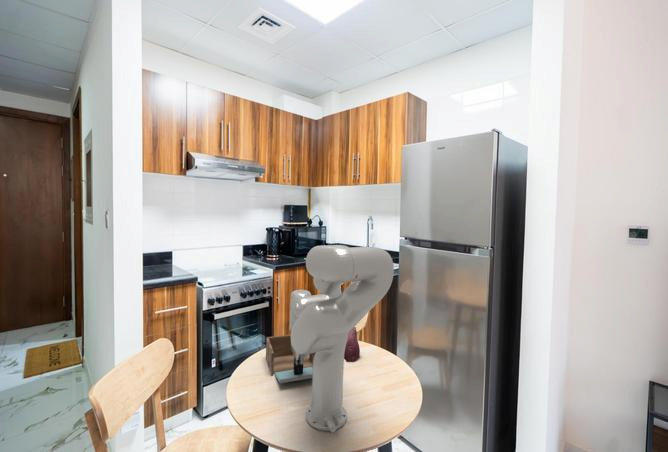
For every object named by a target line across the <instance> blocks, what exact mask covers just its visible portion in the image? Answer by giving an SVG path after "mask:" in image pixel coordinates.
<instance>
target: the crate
mask: <svg viewBox="0 0 668 452" xmlns="http://www.w3.org/2000/svg"><path fill="white" fill-rule="evenodd" d="M265 338H266V339H265V359H266V360H265V361H266V363H267V365H268V370H269V373H270V377H274V375H275V372H282V371H288V370H293V368H294V354H293V352H292V350H291V334H285V335H276V336H267V337H265ZM315 353H316V352H314V353H310V354H309V359H307V358H306V357H305V355H304V364H303V368H308V367H313V359H314V356H315Z"/></svg>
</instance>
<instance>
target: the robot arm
mask: <svg viewBox="0 0 668 452" xmlns="http://www.w3.org/2000/svg"><path fill="white" fill-rule="evenodd" d="M305 258H306V259H305V267H306V270H307V272H308V274H309V275H310V276H311V277H313V280H312V281H313V285H314V288H315V289H316V290H317V291H318V292H319V293H320V294H315V295H314V294H313V295H312V293H311V292H310V291H309V290H307V289H295V290H293V291H291V293H290V300H289V301H290V302H289V303H290V304H289V307H290V308H289V331H290V335H291V350H292V352H293V354H294V368H293V372H294V375H299V374H303V364H304V355H305V357H306V358H307V359H309V354H310V353H314V352H316V353H315V356H314V359H313V373H312V378H311V405H310V406H309V407H307V409H306V413H305V419H306V422H307V423H308V424H309V425H310V426H311V427H312V428H313V429H316V430H318V431H324V432H325V431H326V432H330V433H335V432H336V431H337V430H338V429H340V428H341V427H343V426H344V425H345V423H346V422H347V419H348V413H347V410H346V409H345V407H344V406H343V398H344V397H343V391H344V366H345V364H344V363H345V359H344V353H345V347H346V343H347V338H348V332H349V331H350V330H352V329H353V328H354V327H356V326H357V325H358V324H359V323H360V322H361V321H362V320H363V319H364V317H365V316H367V314H368V313H369V312H370V311H371V310H372V309H373V308H374V307H375V306H376V305H378V303H380V301H381V300H382V299H383V298H384V297H385V296H386V295H387V293H388V291H389V290H390V287H391V286H392V283H393V279H394V274H395V273H394V262H393V261H394V260H393V258H392V257H391V255H390V253H389V252H388V251H386V250H385V249H382V248H380V247H375V246H356V247H355V246H354V247H351V246H347V245H344V244H332V245H330V244H329V245H328V244H327V245H325V244H324V245H316V246H314V247H312V248H310V250H309V252H307V255H306V257H305ZM343 283H344V284H346V283H351V284H348V286H347V287H346V288H344V290H343V291H342V289H341V286H342V285H343Z"/></svg>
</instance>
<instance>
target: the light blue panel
mask: <svg viewBox="0 0 668 452" xmlns="http://www.w3.org/2000/svg"><path fill="white" fill-rule="evenodd" d="M312 373H313V367H308V368H303V374H299V375H294V372H293V370H288V371H282V372H275V374H274V376H275V378H276V379H277V381H278V382H279V384H284V383H290V382H294V381H295V382H296V381H301V380H308V379H312Z"/></svg>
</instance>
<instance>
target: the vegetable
mask: <svg viewBox="0 0 668 452" xmlns="http://www.w3.org/2000/svg"><path fill="white" fill-rule="evenodd" d="M360 350H361V348H360V344H359V340H358V336H357V327H356V326H355V327H354V328H353V329H352V330H350V331H348V338H347V343H346V347H345V353H344V361H345V362H347V363H353V362H356V361H358V360H359V359H360V355H361V354H360V353H361V351H360Z"/></svg>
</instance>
